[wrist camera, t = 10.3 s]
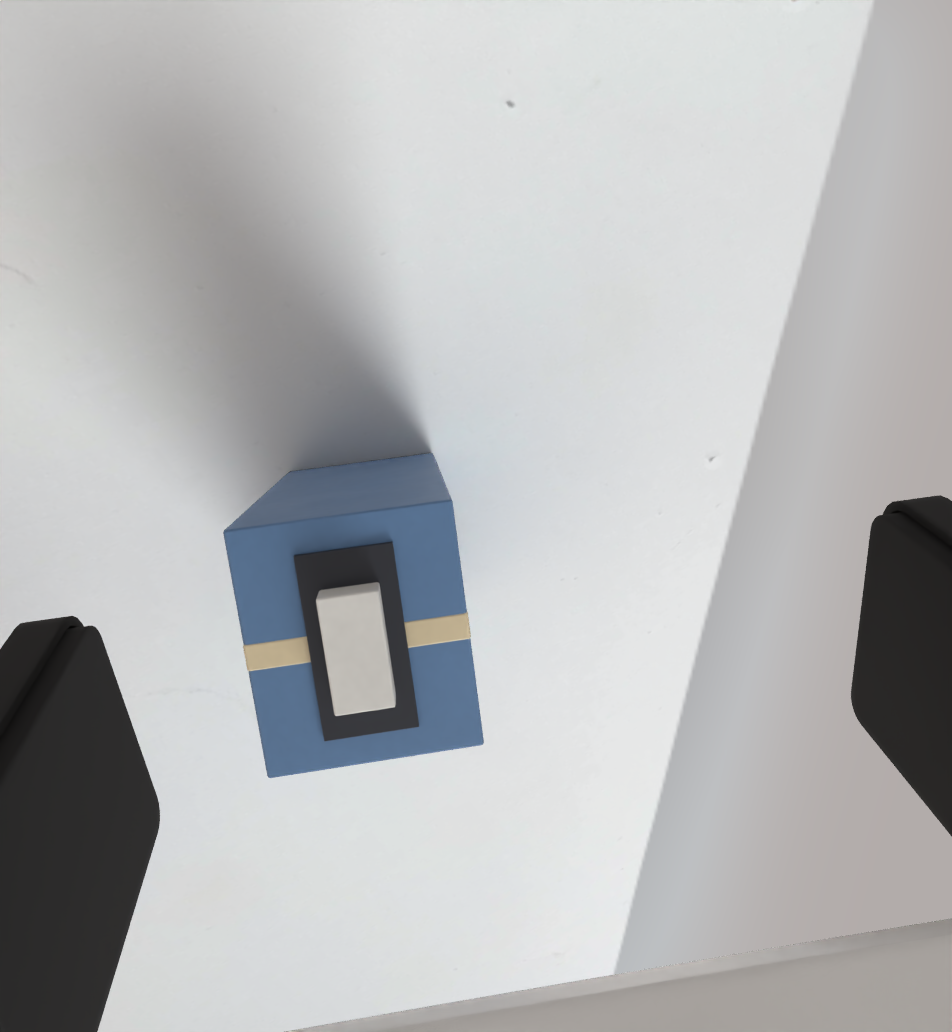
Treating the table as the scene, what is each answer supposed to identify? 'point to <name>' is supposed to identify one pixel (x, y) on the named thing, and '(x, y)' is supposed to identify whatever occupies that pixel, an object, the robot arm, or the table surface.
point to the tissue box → (355, 616)
